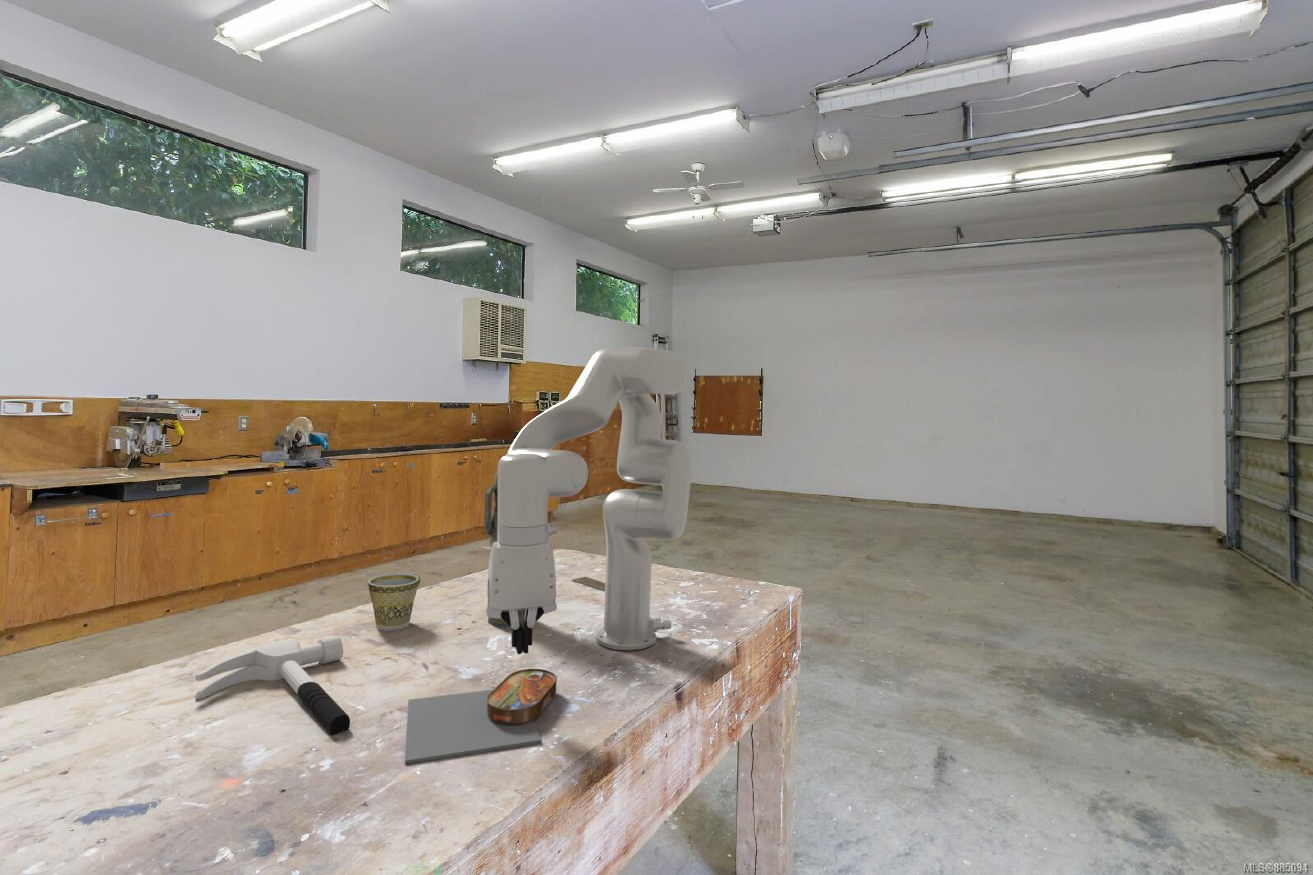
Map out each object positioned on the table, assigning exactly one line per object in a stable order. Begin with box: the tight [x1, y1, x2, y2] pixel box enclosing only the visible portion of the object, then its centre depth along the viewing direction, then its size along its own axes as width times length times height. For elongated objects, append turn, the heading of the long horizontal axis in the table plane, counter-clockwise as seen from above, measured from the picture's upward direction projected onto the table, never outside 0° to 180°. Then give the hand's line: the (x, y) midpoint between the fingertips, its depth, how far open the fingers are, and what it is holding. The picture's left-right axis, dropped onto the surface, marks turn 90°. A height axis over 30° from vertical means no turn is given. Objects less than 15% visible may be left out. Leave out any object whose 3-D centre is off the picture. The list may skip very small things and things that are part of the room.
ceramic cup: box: [367, 573, 421, 632], centre depth 134 cm, size 13×10×10 cm
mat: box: [404, 689, 542, 765], centre depth 94 cm, size 18×18×1 cm
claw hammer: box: [194, 635, 351, 736], centre depth 98 cm, size 6×22×30 cm
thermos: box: [483, 468, 526, 628], centre depth 138 cm, size 9×12×35 cm
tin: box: [487, 668, 558, 724], centre depth 99 cm, size 15×3×8 cm
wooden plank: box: [571, 576, 605, 592], centre depth 169 cm, size 17×1×5 cm
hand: (521, 650), depth 96 cm, fingers closed
